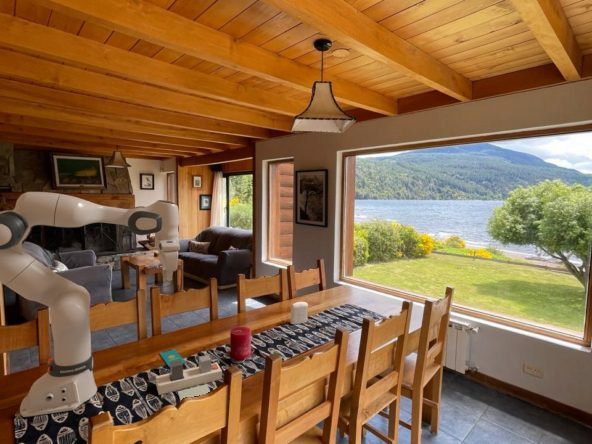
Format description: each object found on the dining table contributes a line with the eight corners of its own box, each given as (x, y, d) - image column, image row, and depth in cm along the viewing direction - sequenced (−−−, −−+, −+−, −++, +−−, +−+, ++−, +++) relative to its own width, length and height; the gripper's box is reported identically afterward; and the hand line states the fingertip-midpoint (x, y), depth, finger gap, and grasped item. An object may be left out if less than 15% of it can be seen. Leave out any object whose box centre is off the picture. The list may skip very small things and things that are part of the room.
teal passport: (169, 367, 143) (158, 352, 155) (169, 369, 143) (158, 354, 155) (186, 362, 148) (174, 348, 159) (186, 364, 148) (174, 350, 159)
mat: (181, 403, 121) (181, 402, 121) (177, 392, 127) (177, 391, 127) (211, 394, 127) (211, 394, 127) (206, 385, 133) (206, 384, 133)
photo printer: (304, 320, 201) (305, 299, 199) (308, 322, 197) (309, 302, 195) (289, 322, 196) (290, 301, 195) (292, 325, 192) (293, 304, 191)
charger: (172, 389, 129) (172, 367, 128) (170, 383, 133) (170, 362, 132) (182, 386, 131) (183, 364, 130) (180, 381, 134) (181, 359, 133)
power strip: (158, 394, 125) (158, 373, 124) (156, 384, 131) (156, 364, 130) (221, 378, 137) (222, 359, 136) (216, 370, 143) (217, 351, 142)
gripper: (154, 238, 138) (154, 271, 139) (162, 247, 120) (162, 285, 122) (170, 237, 141) (170, 270, 143) (180, 246, 123) (180, 283, 125)
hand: (167, 277), depth 132 cm, fingers open, 8 cm apart
